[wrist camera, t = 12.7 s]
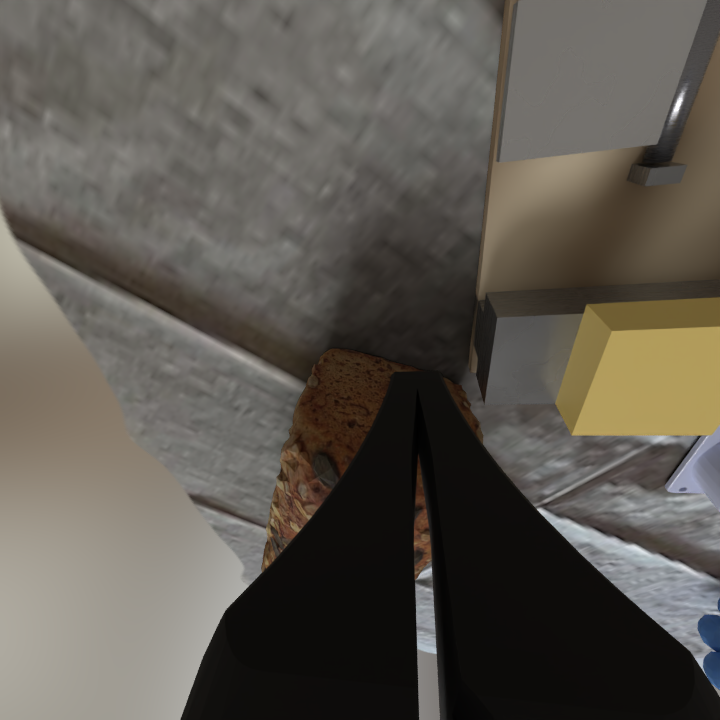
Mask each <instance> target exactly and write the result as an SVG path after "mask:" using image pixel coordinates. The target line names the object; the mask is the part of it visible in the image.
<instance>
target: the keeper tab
mask: <svg viewBox="0 0 720 720" xmlns="http://www.w3.org/2000/svg"><path fill="white" fill-rule="evenodd" d="M719 36H720V0H519V1H517V2H516V3H515V4H514V5H513V13H512V22H511V31H510V40H509V49H508V58H507V67H506V76H505V85H504V94H503V102H502V111H501V120H500V129H499V138H498V147H497V156H496V161H497V162H499V163H502V162H510V161H519V160H527V159H536V158H544V157H553V156H561V155H570V154H579V153H587V152H596V151H604V150H613V149H621V148H630V147H638V146H647V145H648V146H647V149H646V152H645V155H644V158H643V161H642V162H645V163H664V162H670V161H672V160H673V157H674V154H675V152H676V149H677V146H678V144H679V141H680V139H681V136H682V133H683V131H684V128H685V125H686V123H687V120H688V118H689V115H690V112H691V110H692V107H693V104H694V102H695V99H696V97H697V94H698V91H699V89H700V86H701V83H702V81H703V78H704V76H705V73H706V70H707V68H708V65H709V62H710V60H711V57H712V54H713V52H714V49H715V47H716V44H717V41H718V39H719Z"/></svg>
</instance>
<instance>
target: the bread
mask: <svg viewBox="0 0 720 720" xmlns="http://www.w3.org/2000/svg"><path fill="white" fill-rule="evenodd" d="M406 371H424V370H419V369H417V368H414V367H411V366H408V365H403V364H399V363H395V362H392V361H388V360H386V359H385V358H383V357H375V356H371V355H368V354H365V353H361V352H358V351H354V350H350V349H330V350H328V351H327V352H325V353H324V354H323V355H322V356H320V360H319V363H318V365H316V364H314V366H313V368H312V375H311V376H310V377H309V378H308V381H307V384H306V388H305V389H304V391H303V393H302V394H301V396H300V398H299V400H298V403H297V405H296V407H295V411H294V416H293V425H292V427H291V428H290V429H289V434H290V438H289V439H288V440H287V441H286V442H285V444H284V446H283V448H282V450H281V458H280V463H281V471H280V474H279V475H278V476H277V477H276V478H277V483H276V488H275V491H274V494H273V499H272V503H271V508H270V515H269V520H268V524H267V527H266V531H267V542H266V545H265V549H264V554H263V563H262V567H261V569H262V572H263V571H264V570H265V569H266V568H267V567H268V566H269V565H270V564H271V563H272V562H273V561H274V560H275V559H276V558H277V557H278V555H279V554H280V553H281V552H282V551H283V550H284V549H285V547H286V546H287V545H288V544H289V543H290V542H291V540H292V539H293V538H294V537H295V536H296V535H297V534H298V532H299V531H300V530H301V529H302V528H303V527H304V525H305V524H306V523H307V522H308V521H309V519H310V518H311V517H312V516H313V515H314V513H315V512H316V511H317V509H318V508H319V507H320V506H321V504H322V503H323V502H324V500H325V499H326V497H327V496H328V495H329V493H330V492H331V491H332V489H333V488H334V487H335V485H336V484H337V482H338V481H339V480H340V478H341V477H342V475H343V474H344V472H345V471H346V469H347V468H348V466H349V464H350V463H351V461H352V460H353V458H354V456H355V455H356V453H357V451H358V450H359V448H360V446H361V444H362V443H363V441H364V439H365V437H366V435H367V434H368V432H369V430H370V428H371V426H372V424H373V422H374V420H375V418H376V415H377V413H378V411H379V409H380V407H381V405H382V402H383V400H384V397H385V395H386V392H387V389H388V386H389V383H390V378H391V375H392V374H393V373H394V372H406ZM443 379H444V381H445V383H446V385H447V387H448V389H449V391H450V393H451V395H452V397H453V399H454V401H455V402H456V404H457V406H458V408H459V409H460V411H461V413H462V414H463V416H464V417H465V419H466V420H467V422H468V424H469V425H470V427H471V428H472V430H473V431H474V433H475V434H476V436H477V437H478V439H479V440H480V441H481V443H482V444H483V434H482V432H481V428H480V422H479V421H478V420H477V418H476V417H475V416H474V415H473V413H472V412H471V410H470V406H471V403H470V402H469V401H468V400H467V395H466V392H465V391H464V390H462V385H458V384H454V383H452V382H451V381H450V380H449V379H446V378H444V377H443ZM430 561H432V558H431V543H430V533H429V525H428V518H427V511H426V504H425V497H424V490H423V483H422V476H421V469H420V462H419V455H418V467H417V486H416V504H415V522H414V562H415V579H417V578H418V576H419V574H420V573H421V571H422V570H423V568H424V567H425V566H426V565H427V564H428V563H429V562H430Z"/></svg>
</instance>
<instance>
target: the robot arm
mask: <svg viewBox="0 0 720 720" xmlns="http://www.w3.org/2000/svg"><path fill="white" fill-rule="evenodd" d="M418 455H419V462H420V469H421V476H422V483H423V490H424V497H425V504H426V511H427V518H428V525H429V533H430V543H431V558H432V576H433V593H434V611H435V629H436V648H437V667H438V686H439V706H440V720H720V697H719V695H718V693H717V692H716V690H715V689H714V687H713V686H712V684H711V683H710V681H709V680H708V678H707V676H706V675H705V673H704V672H703V670H702V669H701V667H700V666H699V664H698V663H697V661H696V660H695V658H694V657H693V655H692V653H691V652H690V651H689V650H688V649H687V648H685V647H684V646H683V645H682V644H681V643H680V642H678V641H677V640H676V639H675V638H674V637H673V636H671V635H670V634H669V633H668V632H667V631H666V630H664V629H663V628H662V627H661V626H660V625H659V624H657V623H656V622H655V621H654V620H653V619H652V618H650V617H649V616H648V615H647V614H646V613H645V612H644V611H642V610H641V609H640V608H639V607H638V606H637V605H636V604H635V603H633V602H632V601H631V600H630V599H629V598H628V597H627V596H626V595H624V594H623V593H622V592H621V591H620V590H619V589H618V588H617V587H615V586H614V585H613V584H612V583H611V582H610V581H609V580H608V579H607V578H606V577H605V576H604V575H603V574H601V573H600V572H599V571H598V570H597V569H596V568H595V567H594V566H593V565H592V564H591V563H590V562H589V561H587V560H586V559H585V558H584V557H583V556H582V555H581V554H580V553H579V552H578V551H577V550H576V549H575V548H574V547H573V546H572V545H571V544H570V543H569V542H568V541H567V540H566V539H565V538H564V537H563V536H562V535H561V534H560V533H559V532H558V531H557V530H556V529H555V528H554V527H553V526H552V525H551V524H550V523H549V522H548V521H547V520H546V519H545V518H544V517H543V516H542V515H541V514H540V513H539V511H538V510H537V509H536V508H535V507H534V506H533V505H532V504H531V503H530V502H529V500H528V499H527V498H526V497H525V496H524V495H523V494H522V493H521V492H520V490H519V489H518V488H517V487H516V486H515V485H514V483H513V482H512V481H511V480H510V479H509V478H508V476H507V475H506V474H505V473H504V472H503V470H502V469H501V468H500V467H499V465H498V464H497V463H496V461H495V460H494V459H493V458H492V456H491V455H490V454H489V452H488V451H487V450H486V448H485V447H484V445H483V444H482V443H481V441H480V440H479V439H478V437H477V436H476V434H475V433H474V431H473V430H472V428H471V427H470V425H469V424H468V422H467V420H466V419H465V417H464V416H463V414H462V413H461V411H460V409H459V408H458V406H457V404H456V402H455V401H454V399H453V397H452V395H451V393H450V391H449V389H448V387H447V385H446V383H445V381H444V379H443V376H442V374H441V373H440V372H439V371H406V372H394V373H393V374H392V375H391V378H390V383H389V386H388V389H387V392H386V395H385V397H384V400H383V402H382V405H381V407H380V409H379V411H378V413H377V415H376V418H375V420H374V422H373V424H372V426H371V428H370V430H369V432H368V434H367V435H366V437H365V439H364V441H363V443H362V444H361V446H360V448H359V450H358V451H357V453H356V455H355V456H354V458H353V460H352V461H351V463H350V464H349V466H348V468H347V469H346V471H345V472H344V474H343V475H342V477H341V478H340V480H339V481H338V482H337V484H336V485H335V487H334V488H333V489H332V491H331V492H330V493H329V495H328V496H327V497H326V499H325V500H324V502H323V503H322V504H321V506H320V507H319V508H318V509H317V511H316V512H315V513H314V515H313V516H312V517H311V518H310V519H309V521H308V522H307V523H306V524H305V525H304V527H303V528H302V529H301V530H300V531H299V532H298V534H297V535H296V536H295V537H294V538H293V539H292V540H291V542H290V543H289V544H288V545H287V546H286V547H285V549H284V550H283V551H282V552H281V553H280V554H279V555H278V557H277V558H276V559H275V560H274V561H273V562H272V563H271V564H270V565H269V566H268V567H267V568H266V569H265V570H264V571H263V572H262V573H261V574H260V575H259V577H258V578H257V579H256V580H255V581H254V582H253V583H252V584H251V585H250V586H249V587H248V588H247V589H246V590H245V591H244V592H243V593H242V594H241V595H240V596H239V597H238V598H237V599H236V600H235V601H234V602H233V603H232V604H231V605H230V606H229V607H228V608H227V610H226V611H225V613H224V615H223V616H222V619H221V620H220V623H219V624H218V627H217V629H216V631H215V633H214V635H213V637H212V640H211V642H210V644H209V646H208V648H207V650H206V652H205V654H204V656H203V659H202V662H201V664H200V667H199V670H198V673H197V675H196V678H195V681H194V684H193V687H192V689H191V692H190V695H189V698H188V700H187V703H186V706H185V709H184V712H183V714H182V717H181V720H419V703H418V669H417V668H418V667H417V632H416V597H415V562H414V522H415V504H416V486H417V467H418ZM665 488H666V489H667V491H669V492H672V493H705V494H706V496H707V497H708V498H709V499H710V501H711V502H712V503H713V504H714V506H715V507H716V508H717V510H718V511H719V512H720V425H719V426H718V428H717V429H716V430H715V432H714V433H713V434H712V435H702V436H701V437H700V438H699V440H698V441H697V442H696V444H695V445H694V446H693V448H692V449H691V451H690V452H689V453H688V455H687V456H686V457H685V459H684V460H683V461H682V463H681V464H680V466H679V467H678V468H677V470H676V471H675V472H674V474H673V475H672V476H671V478H670V479H669V481H668V482H667V483H666V485H665Z"/></svg>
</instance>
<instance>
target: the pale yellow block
mask: <svg viewBox="0 0 720 720" xmlns="http://www.w3.org/2000/svg"><path fill="white" fill-rule="evenodd" d="M555 404H556V406H557V408H558V410H559V412H560V414H561V416H562V418H563V419H564V421H565V423H566V425H567V427H568V429H569V431H570V433H571V435H712V434H713V433H714V432H715V430H716V429H717V428H718V426H719V425H720V297H716V298H696V299H677V300H658V301H639V302H620V303H601V304H586V308H585V311H584V314H583V317H582V320H581V323H580V327H579V330H578V333H577V336H576V339H575V342H574V346H573V349H572V352H571V355H570V358H569V361H568V365H567V368H566V371H565V374H564V377H563V380H562V384H561V387H560V390H559V393H558V396H557V399H556V403H555Z"/></svg>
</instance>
